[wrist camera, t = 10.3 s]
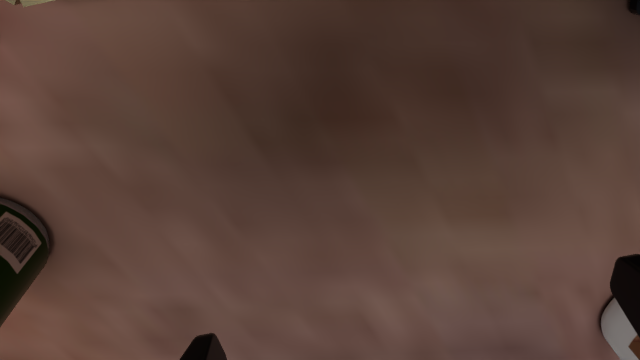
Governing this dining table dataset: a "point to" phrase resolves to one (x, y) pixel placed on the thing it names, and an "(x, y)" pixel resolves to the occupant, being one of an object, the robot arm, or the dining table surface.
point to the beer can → (19, 253)
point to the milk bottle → (620, 332)
